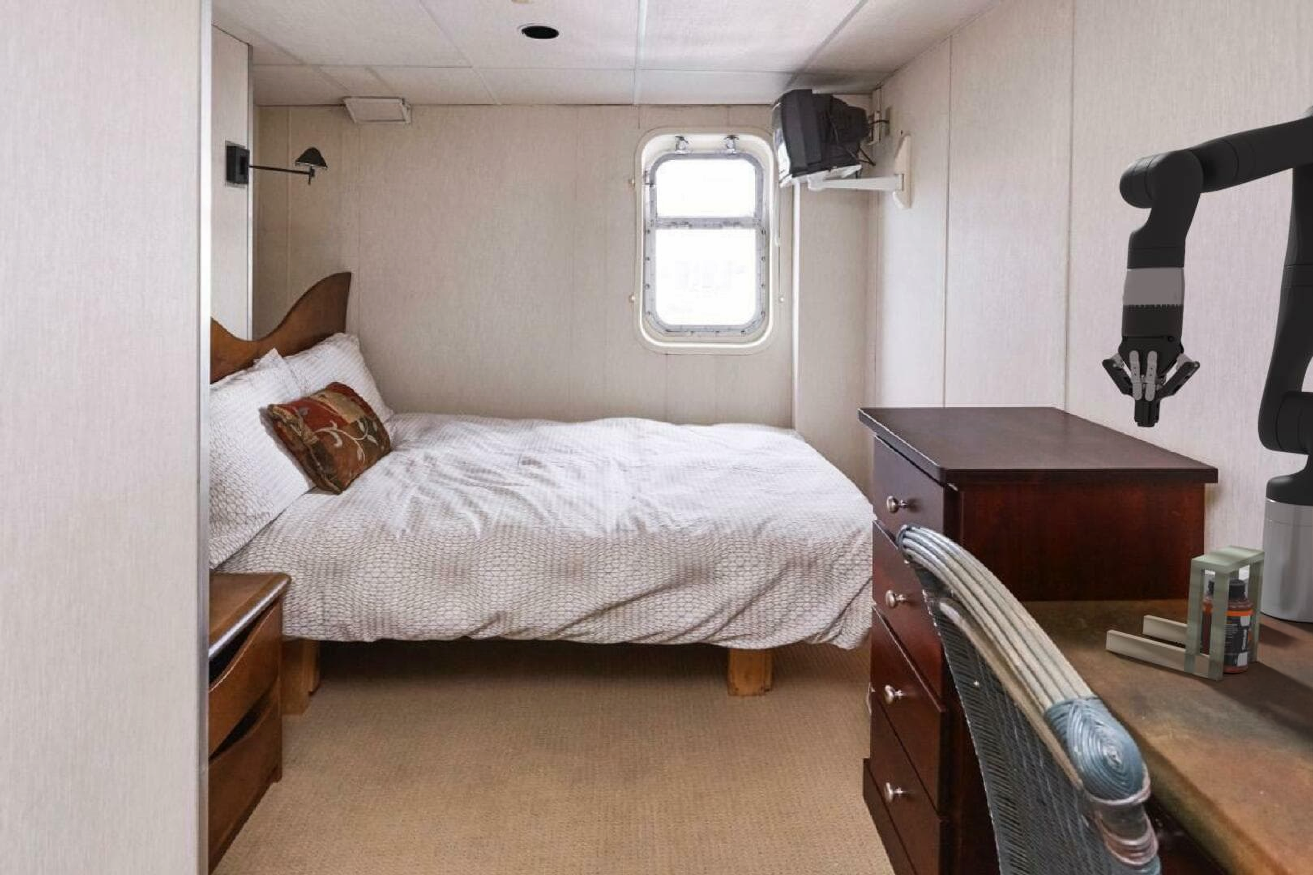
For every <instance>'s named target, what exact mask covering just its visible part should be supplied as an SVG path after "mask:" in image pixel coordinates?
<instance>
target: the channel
mask: <svg viewBox="0 0 1313 875" xmlns="http://www.w3.org/2000/svg"><path fill="white" fill-rule="evenodd" d="M1264 558H1265V551H1262V549H1260V550H1259V549H1254V548H1250V547H1249V548H1248V547H1242V546H1235V545H1228V546H1225V547H1223V548H1220V549H1217V550H1214V551H1211V552H1209V553H1206V554H1203V555H1200V556H1197V557H1195V558H1194V557H1193V558H1192V559H1191V560H1190V562H1191V563H1190V575H1189V576H1190V577H1189V592H1188V607H1187V618H1186V619H1187V620H1186V623H1182V622H1179V621H1174V620H1170V619H1167V618H1166V619H1165V618H1162V617H1158V616H1154V615H1150V614H1148V615H1147V614H1146V615H1144V616H1143V625H1142V626H1143V630H1142V634H1143V635H1146V636H1150V637H1154V638H1157V639H1161V640H1164V641H1169V642H1174V643H1176V642H1177V644H1180V643H1181V645H1183V646H1184V645H1185V648H1182V647H1177V646H1175V645H1170V644H1168V643H1163V642H1160V641H1155V640H1151V639H1148V638H1144V637H1141V636H1137V635H1133V634H1128V633H1126V632H1125V633H1124V632H1122V631H1117V630H1114V629H1111V630H1110V629H1109V630H1108V631H1107V632H1106V643H1105V644H1106V645H1105V646H1106V647H1105V650H1106V651H1108V652H1113V653H1116V654H1117V653H1118V654H1119V655H1123V656H1127V657H1131V658H1134V659H1137V660H1142V661H1145V662H1149V663H1153V664H1156V665H1159V666H1164V667H1165V668H1170V669H1174V670H1177V671H1181V672H1183V673H1184V672H1185V673H1187V674H1192V675H1194V676H1195V675H1196V676H1199V677H1202V678H1206V679H1209V680H1212V681H1216V682H1219V681H1221V680H1223V675H1224V674H1223V673H1224V672H1223V663H1224V649H1225V635H1226V621H1227V608H1228V594H1229V580H1230V578H1235V579H1239V569H1240V570H1241V569H1243V568H1244V567H1247V566H1249V570H1248V571H1249V581H1248V594H1247V598H1248V599H1249V600H1250V601H1251V602H1252V606H1253V610H1252V626H1251V637H1250V652H1249V663H1254V662H1255V661H1257V659H1258V646H1259V634H1260V621H1261V619H1260V618H1261V611H1260V610H1261V597H1262V584H1263V571H1264ZM1205 570H1208V571H1213V572H1215V581H1214V595H1213V609H1212V623H1211V638H1210V652H1209V655H1205V654H1202V653H1200V641H1201V626H1202V612H1203V597H1204V582H1205Z"/></svg>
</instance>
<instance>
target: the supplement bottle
mask: <svg viewBox="0 0 1313 875" xmlns="http://www.w3.org/2000/svg"><path fill="white" fill-rule="evenodd" d="M1214 581H1215V577H1211V578H1209V582H1208V588H1209V590H1208V591H1207V592H1206V593H1204V597H1203V612H1202V626H1201V641H1200V653H1202V654H1205V655H1209V652H1210V638H1211V623H1212V609H1213V595H1214ZM1244 592H1245V582H1244V581H1242V580H1239V579H1235V578H1230V580H1229V594H1228V608H1227V621H1226V635H1225V649H1224V663H1223V673H1228V674H1229V673H1230V674H1231V673H1232V674H1239V673H1243V672H1246V671H1247V670H1248V667H1249V663H1250V661H1249V652H1250V637H1251V626H1252V610H1253V606H1252V602H1251V601H1250V600H1249V599H1248V598H1246V596H1245V594H1244Z"/></svg>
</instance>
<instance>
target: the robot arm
mask: <svg viewBox="0 0 1313 875" xmlns="http://www.w3.org/2000/svg"><path fill="white" fill-rule="evenodd" d="M1288 170H1292V171H1291V178H1292V180H1291V182H1292V183H1291V206H1290V215H1289V225H1288V235H1287V244H1286V250H1285V257H1284V261H1283V269H1282V274H1281V275H1282V277H1281V285H1280V291H1279V293H1280V295H1279V303H1278V311H1277V312H1278V313H1277V322H1276V327H1275V328H1276V329H1275V335H1274V342H1273V348H1272V353H1271V355H1270V356H1271V357H1270V363H1269V365H1268V370H1267V375H1266V379H1265V382H1264V387H1263V391H1262V397H1261V401H1260V406H1259V408H1258V414H1257V415H1258V417H1257V433H1258V438H1259V441H1260V443H1261V445H1262V447H1264V448H1265V449H1266V450H1269V451H1272V452H1273V451H1274V452H1280V453H1286V454H1296V455H1304V456H1307V459H1306V463H1305V466H1304V468H1302V469H1300V470H1299V471H1296V472H1294V473H1290V474H1283V475H1279V476H1278V475H1277V476H1274V477H1272V478H1270V479H1269V480H1268V481H1267V483H1266V486H1265V502H1264V503H1265V504H1264V516H1263V530H1262V541H1261V551H1265V558H1264V571H1263V584H1262V597H1261V610H1260V613H1263V614H1265V615H1268V616H1271V617H1274V618H1278V619H1282V620H1288V621H1294V622H1300V623H1301V622H1303V623H1304V622H1305V623H1313V391H1303V385H1304V380H1305V378H1306V373H1307V370H1308V367H1309V365H1310V362H1311V361H1312V360H1313V105H1311V106H1309V107H1308V108H1306V110H1304V111H1303V112H1302V114H1301V115H1300V116H1299V119H1295V120H1291V121H1286V122H1282V123H1278V124H1272V125H1268V126H1263V127H1258V128H1253V129H1249V130H1244V131H1239V132H1236V133H1231V134H1228V135H1223V136H1220V137H1217V138H1213V139H1209V140H1206V141H1203V142H1202V143H1198V144H1196V145H1193V146H1190V147H1186V148H1183V149H1175V150H1171V151H1170V150H1169V151H1166V152H1161V153H1158V154H1153V155H1149V156H1145V157H1140V158H1138V159H1136V160H1135V161H1133V162H1131V163H1130V164H1129V165H1128V166H1126V168H1125V169H1124V171H1123V172H1122V174H1121V176H1120V180H1119V185H1118V187H1119V194H1120V195H1121V198H1122V199H1123V200H1124V202H1126V203H1127V204H1128V205H1129V206H1132V207H1134V208H1137V209H1143V210H1144V209H1146V210H1148V209H1150V212H1149V215H1148V218H1147V220H1146V222H1144V223H1143V224H1141V225H1139V226H1138V227H1135V228H1134V229H1133V230H1132V231H1131V233H1130V234H1129V238H1128V243H1127V244H1128V245H1127V259H1126V261H1127V263H1126V274H1125V280H1124V284H1123V294H1122V313H1121V314H1122V316H1121V328H1120V329H1121V331H1120V332H1121V333H1120V334H1121V342H1120V344H1119V345H1118V348H1117V353H1115V354H1113V355H1112V356H1111V357H1109V358H1106V359H1105V358H1104V359H1103V360H1102V362H1101V364H1102V367H1103V368H1104V370H1105V371H1106V372H1107V375H1108V376H1109V377H1110V378H1111V380H1112V381H1113V383H1114V385H1115V386H1116V387H1117V389H1119V390H1118V391H1120V393H1121V394H1122V395H1124V396H1126V395H1127V396H1129V397H1132V398H1133V401H1134V407H1133V408H1134V412H1133V421H1134V422H1135V423H1136V425H1137V428H1147V429H1148V428H1154V427H1155V426H1156V424H1158V422H1159V421H1160V412H1161V410H1160V409H1161V401H1162V400H1163V399H1165V398H1168V397H1172V396H1175V395H1176V394H1177V393H1178V392H1179V390H1180V389H1182V387H1183V386H1184V385H1185V384H1186V383H1187V382H1188V381H1189V380H1190V378H1192V377H1193V376H1194V374H1195V373H1196V372H1197V371H1198V370H1199V369H1200V368H1201V363H1200V362H1199V361H1197V360H1193V359H1191V358H1190V357H1188V356H1187V355H1186V354H1185V348H1184V345H1183V343H1182V335H1183V327H1184V312H1185V311H1184V309H1185V296H1186V295H1185V294H1186V291H1185V290H1186V280H1185V279H1186V278H1185V262H1186V259H1185V258H1186V243H1187V242H1186V239H1187V236H1188V233H1189V230H1190V228H1191V226H1192V222H1193V221H1194V216H1195V213H1196V210H1197V207H1198V205H1199V201H1200V198H1201V195H1202V194H1205V193H1206V194H1207V193H1213V192H1219V191H1223V190H1226V189H1229V188H1234V187H1238V186H1241V185H1244V184H1247V183H1250V182H1253V181H1256V180H1260V179H1263V178H1265V177H1270V176H1273V175H1276V174H1278V173H1280V172H1281V173H1282V172H1284V171H1288ZM1125 366H1126V368H1127V369H1128V370H1129V372H1130V376H1129V374H1128V373H1127V371H1126V369H1125V368H1124V367H1125ZM1174 367H1175V370H1176V371H1175V373H1174V374H1173V375H1171V377H1170V378H1169V379H1168V380H1167V377H1168V376H1167V375H1168V373H1170V371H1171V370H1172V369H1173V368H1174Z"/></svg>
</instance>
